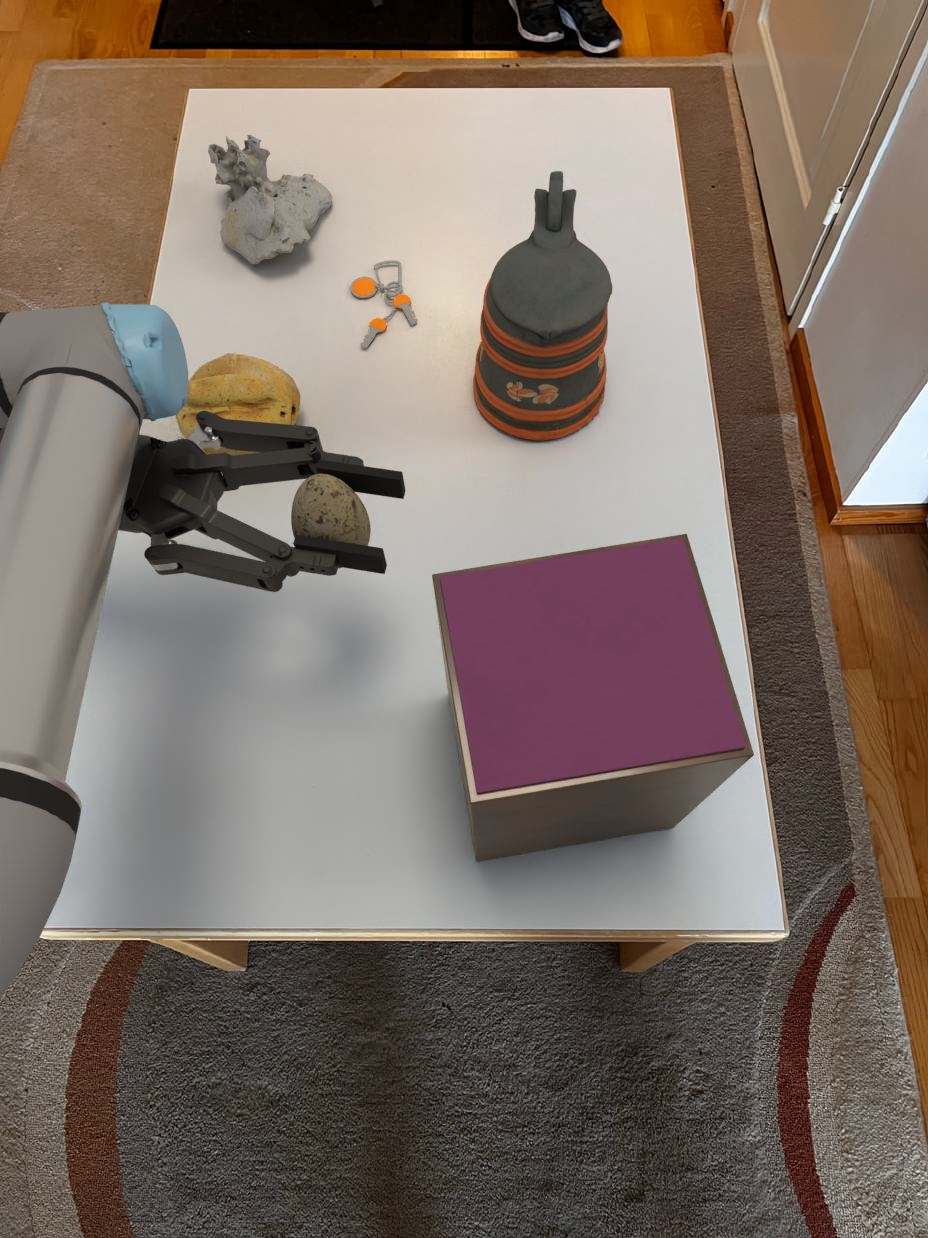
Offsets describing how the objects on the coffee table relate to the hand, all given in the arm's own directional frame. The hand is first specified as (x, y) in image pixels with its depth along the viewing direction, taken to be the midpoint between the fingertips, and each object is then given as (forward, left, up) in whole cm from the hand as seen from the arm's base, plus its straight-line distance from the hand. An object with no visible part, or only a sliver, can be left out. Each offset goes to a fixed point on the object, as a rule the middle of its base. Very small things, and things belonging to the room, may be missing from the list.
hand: (393, 522), depth 65 cm
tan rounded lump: (-15, +28, -23) cm, 39 cm away
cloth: (+11, -14, +3) cm, 18 cm away
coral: (-10, +58, -23) cm, 63 cm away
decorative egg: (-5, +2, -6) cm, 8 cm away
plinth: (+11, -14, -23) cm, 29 cm away
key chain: (+2, +43, -23) cm, 49 cm away
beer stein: (+18, +30, -23) cm, 42 cm away
